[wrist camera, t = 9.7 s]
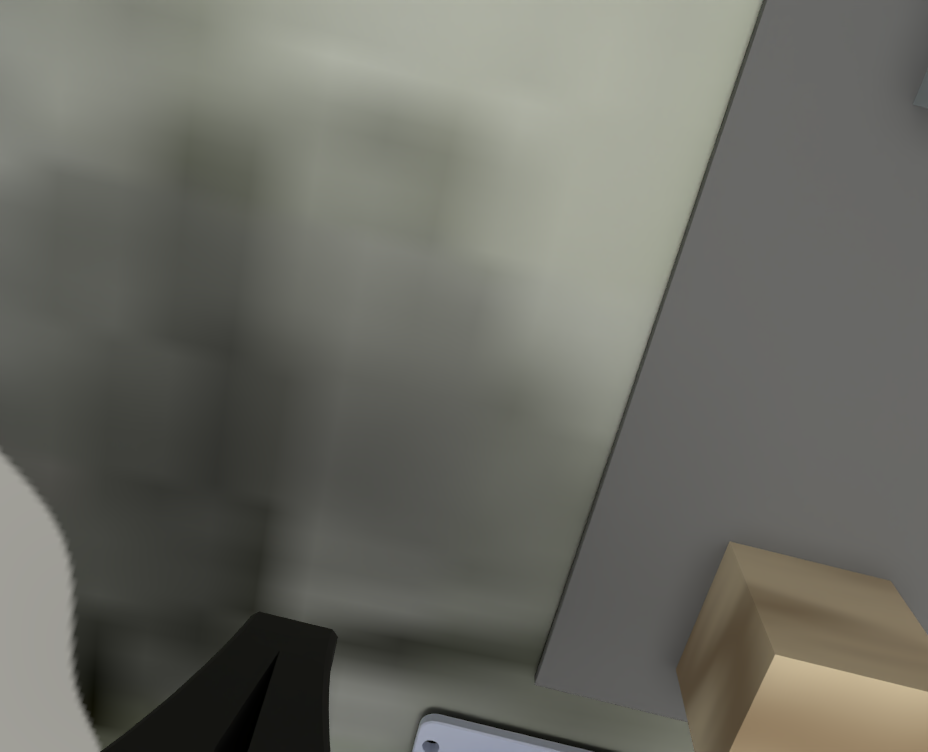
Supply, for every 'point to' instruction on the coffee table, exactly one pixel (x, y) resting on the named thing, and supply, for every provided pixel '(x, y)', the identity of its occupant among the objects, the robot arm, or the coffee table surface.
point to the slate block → (922, 93)
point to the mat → (774, 356)
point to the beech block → (803, 661)
